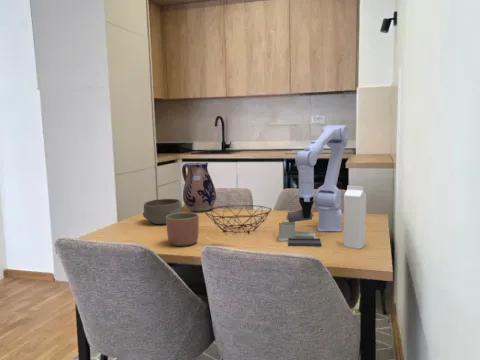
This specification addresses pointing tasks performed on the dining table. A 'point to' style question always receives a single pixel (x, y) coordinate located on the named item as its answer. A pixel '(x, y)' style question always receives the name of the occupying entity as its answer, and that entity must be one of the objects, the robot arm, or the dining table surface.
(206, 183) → the ceramic pitcher
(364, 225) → the milk
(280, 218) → the long tan wooden plank
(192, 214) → the planter
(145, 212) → the bowl
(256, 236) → the dining table surface
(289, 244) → the dark grey roller cradle
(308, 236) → the white roller cradle
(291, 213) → the grey roller spool
